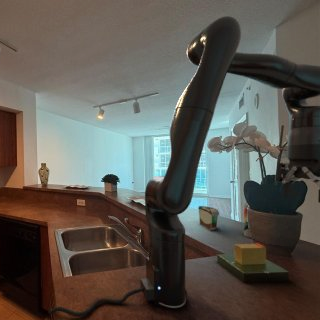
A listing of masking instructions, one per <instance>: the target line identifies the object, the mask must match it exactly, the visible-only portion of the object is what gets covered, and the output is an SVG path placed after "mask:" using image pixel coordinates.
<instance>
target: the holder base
mask: <svg viewBox="0 0 320 320" xmlns="http://www.w3.org/2000/svg"><path fill="white" fill-rule="evenodd" d="M216 257H217V258H216V260H217V261H216V262H217V264H218V265H220V266H221V267H223V268H224V269H225V270H226V271H228V272H229V273H230V274H231V275H233V276H234V277H236V278H237V279H238V280H239V281H241V282H242V283H244V284H245V283H247V284H248V283H250V284H251V283H275V282H277V283H278V282H279V283H281V282H289V281H290V278H289V275H290V273H289V272H290V271H288V270H286V269H285V268H283V267H282V266H279V265H278V264H275V263H274V262H273V261H270V260H268V259H266V264H254V265H241V264H240V263H238V262H237V261H235V253H226V254H225V253H223V254H217V256H216Z"/></svg>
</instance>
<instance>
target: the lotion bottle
mask: <svg viewBox="0 0 320 320" xmlns="http://www.w3.org/2000/svg"><path fill="white" fill-rule="evenodd" d="M247 207H248V205H247V202H246V203H245V202H244V204H243V235H244V236H245V237H247V238H250V239H252V238H251V236H250V233H249V228H248V222H247Z"/></svg>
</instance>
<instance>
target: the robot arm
mask: <svg viewBox="0 0 320 320" xmlns="http://www.w3.org/2000/svg"><path fill="white" fill-rule="evenodd" d="M241 39H242V29H241V24H240V22H239V21H238V20H237V18H236V17H234V16H230V15H225V16H221V17H218V18H217V19H215V20H213V21H212V22H211V23H209V24H208V25H207V26H205V28H203V29H202V30H201V31H200V32H199V33H198V34H197V35H196V36H194V38H192V39H191V41H190V42H189V44H188V46H187V48H186V56H187V59H188V61H189V62H190V63H191V64H192V65H194V66H196V67H197V69H196V72H195V73H194V75H193V77H192V78H191V80H190V82H189V83H188V84H187V86H186V88H185V89H184V91H183V92H182V93H181V96H180V97H179V99H178V101H177V103H176V106H175V108H174V111H173V114H172V118H171V121H170V125H169V144H170V158H169V162H168V165H167V168H166V171H165V174H164V175H155V176H153V177H152V178H150V179H149V181H148V182H147V183H146V185H145V189H144V208H145V209H144V210H145V221H146V225H147V228H148V231H147V232H148V256H147V257H145V277H140V278H139V279H140V281H139V282H140V284H139V285H140V287H138V288H135V289H133V290H130V291H128V292H126V294H125V295H123V296H122V298H118V299H113V298H107V297H106V298H103V297H102V298H98V299H96V300H95V301H93V302H92V303H91V305H90V306H89V307H88V308H87V309H85V310H83V311H74V310H72V309H69V308H66V307H64V306H55V307H52V309H50V310H49V311H48V315H53V314H54V313H56V312H63V313H64V314H67V315H70V316H72V317H84V316H86V315H88V314H89V313H90V312H92V311H93V310H94V308H95V307H96V306H97V305H100V304H102V303H107V304H108V303H109V304H114V305H115V304H116V305H117V304H122V303H124V302H126V301H127V300H128V298H129V297H131V296H133V295H135V294H139V293H142V294H143V297H144V298H145V300H146V301H152V303H153V305H155V306H160V307H162V308H166V309H168V310H169V309H170V310H179V309H182V308H183V307H185V305H186V303H187V297H188V291H187V289H186V228H185V225H184V224H183V223H182V221H181V219H180V217H179V215H181V214H183V213H184V212H185V211H187V209H189V206H190V205H191V203H192V200H193V196H194V191H195V186H196V180H197V174H198V169H199V166H200V165H199V164H200V160H201V157H202V154H203V150H204V147H205V143H206V140H207V136H208V133H209V131H210V128H211V125H212V121H213V118H214V115H215V111H216V107H217V105H218V100H219V98H220V95H221V91H222V89H223V85H224V82H225V79H226V77H227V74H230V75H233V76H234V75H235V76H238V77H242V78H246V79H249V80H252V81H254V82H257V83H260V84H262V85H264V86H267V87H269V88H272V89H274V90H275V89H276V90H281V96H282V99H283V102H284V104H285V107H286V110H287V113H288V114H289V115H288V116H289V120H288V128H289V129H288V132H287V133H288V134H287V147H286V148H287V149H286V150H287V151H286V153H287V154H286V159H287V160H288V161H289V162H278V163H277V166H276V177H275V180H276V181H277V182H280V183H282V184H283V185H282V186H283V188H282V189H283V190H282V192H283V195H284V197H289V198H290V197H291V198H292V197H294V196H295V182H296V181H297V180H300V179H305V180H311V181H312V182H313V183H315V185H317V187H318V188H319V189H318V198H317V199H318V203H319V204H320V105H319V104H318V105H310V104H309V103H308V101H307V100H308V99H312V98H313V99H314V98H316V97H320V65H314V64H306V63H298V62H295V61H293V60H290V59H288V58H285V57H283V56H280V55H277V54H271V53H254V52H253V53H251V52H250V53H249V52H239V51H238V48H239V46H240V43H241Z"/></svg>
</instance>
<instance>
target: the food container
mask: <svg viewBox="0 0 320 320" xmlns="http://www.w3.org/2000/svg"><path fill="white" fill-rule="evenodd" d="M218 216H220V211H219V209H217V208H215V207H211V206H205V205H199V206H198V218H199V225H200V226H202V227H203V228H206V230H208V231H210V232H215V231H216V230H217V226H218Z"/></svg>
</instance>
